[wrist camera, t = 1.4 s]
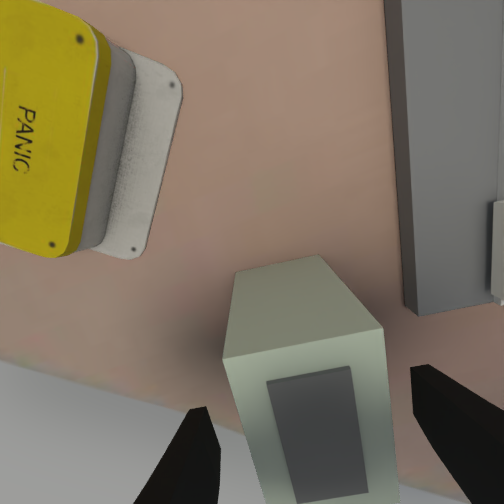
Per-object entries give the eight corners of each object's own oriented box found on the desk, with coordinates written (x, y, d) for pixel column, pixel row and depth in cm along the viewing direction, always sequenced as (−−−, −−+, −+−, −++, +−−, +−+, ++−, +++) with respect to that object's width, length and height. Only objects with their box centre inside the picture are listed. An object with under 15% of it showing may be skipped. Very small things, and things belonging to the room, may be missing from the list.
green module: (336, 363, 16) (402, 508, 9) (262, 376, 16) (272, 528, 9) (318, 254, 14) (386, 330, 7) (235, 272, 14) (221, 363, 7)
